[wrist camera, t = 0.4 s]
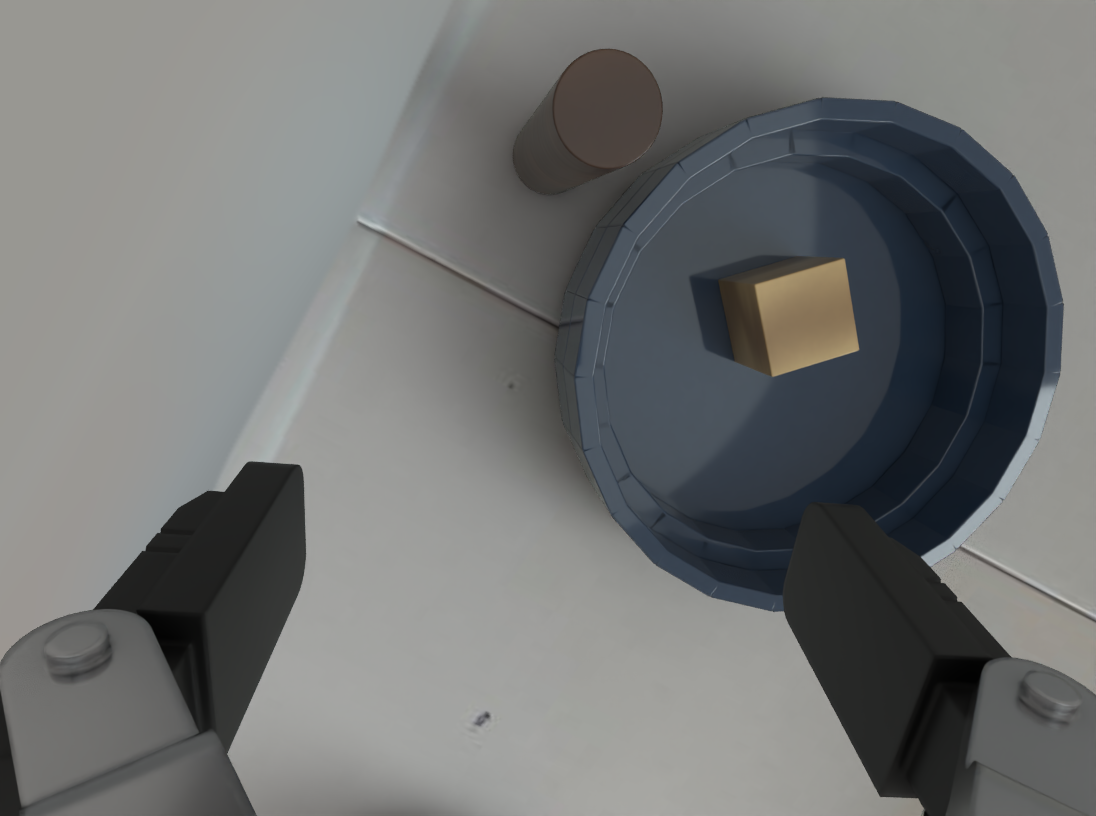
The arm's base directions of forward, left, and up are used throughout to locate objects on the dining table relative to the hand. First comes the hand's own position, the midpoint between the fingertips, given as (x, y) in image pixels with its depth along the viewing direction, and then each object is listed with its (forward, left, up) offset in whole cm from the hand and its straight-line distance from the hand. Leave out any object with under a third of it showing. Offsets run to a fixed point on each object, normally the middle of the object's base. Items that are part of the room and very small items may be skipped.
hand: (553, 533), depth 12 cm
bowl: (+3, +12, -18) cm, 22 cm away
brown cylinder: (-7, +5, -18) cm, 20 cm away
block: (+1, +12, -17) cm, 21 cm away
